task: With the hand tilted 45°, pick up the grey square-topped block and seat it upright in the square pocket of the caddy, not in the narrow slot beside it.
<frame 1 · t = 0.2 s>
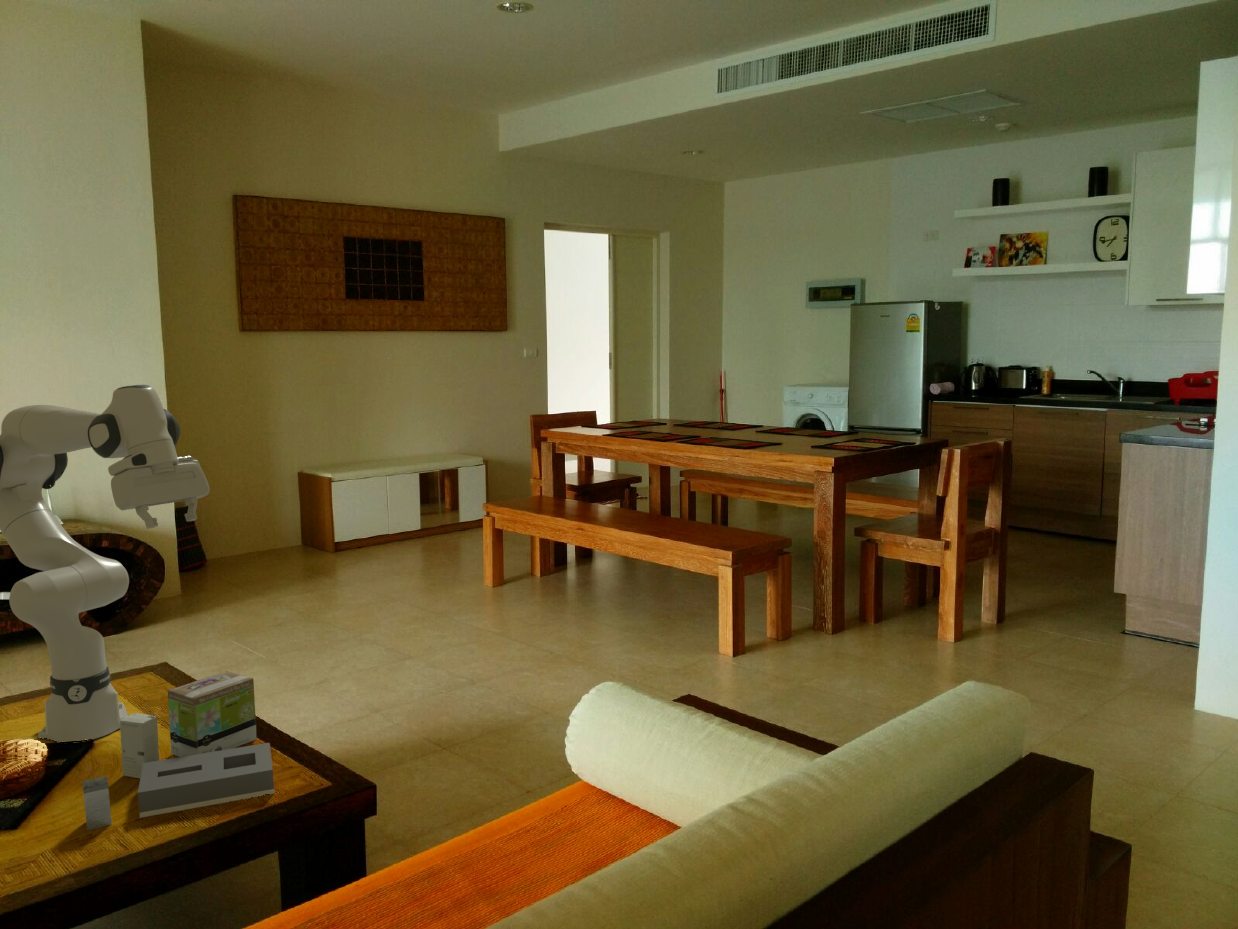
hand: (172, 524, 201), 52 cm above the table, tool tilted 20°, fingers open, 8 cm apart
caddy: (209, 790, 196), on the table
tea box: (215, 748, 217), on the table
skincare box: (142, 774, 204), on the table
grey square-topped block: (98, 823, 184), on the table
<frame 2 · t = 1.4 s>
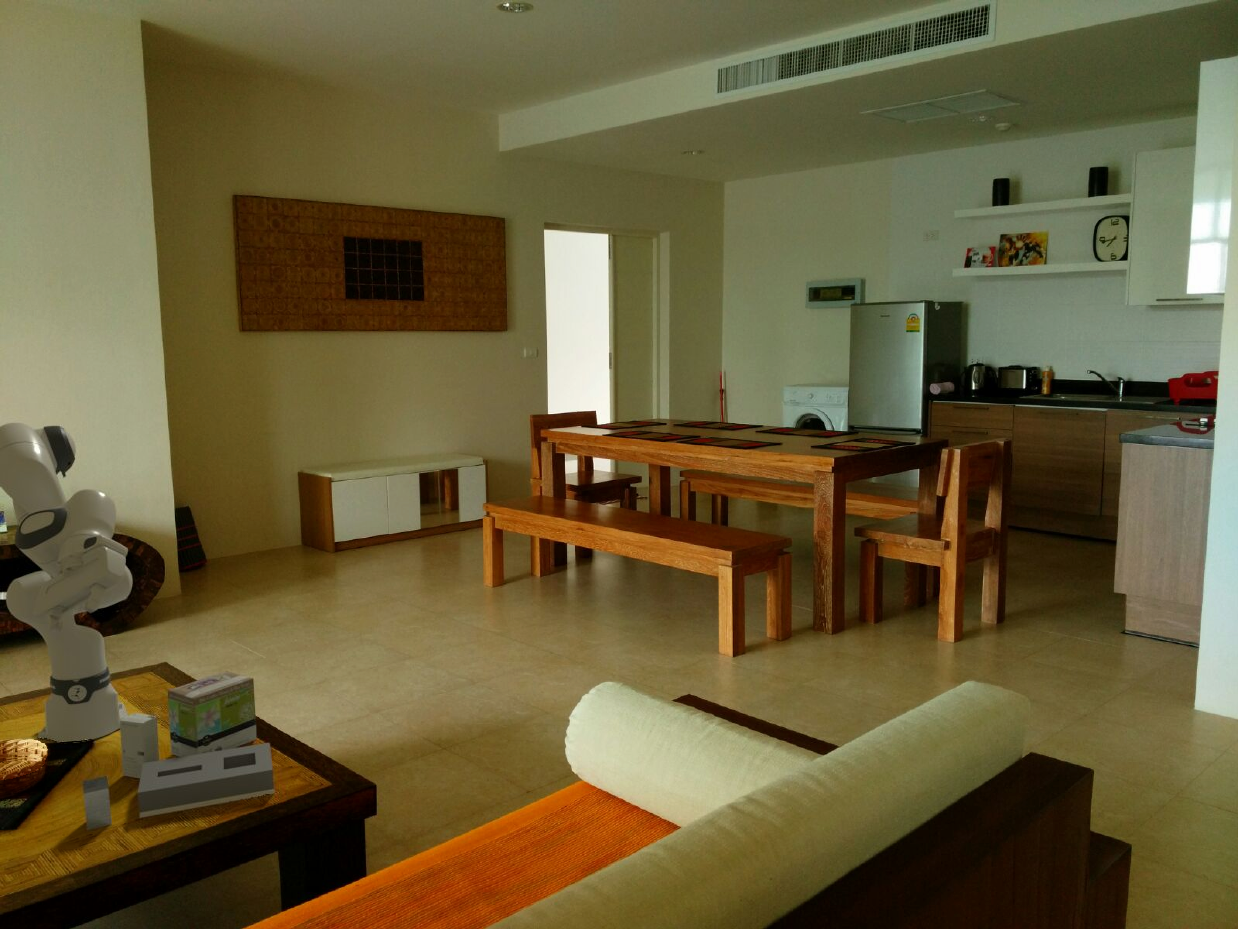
hand: (72, 620, 183), 38 cm above the table, tool tilted 50°, fingers open, 8 cm apart
nothing on the table moved.
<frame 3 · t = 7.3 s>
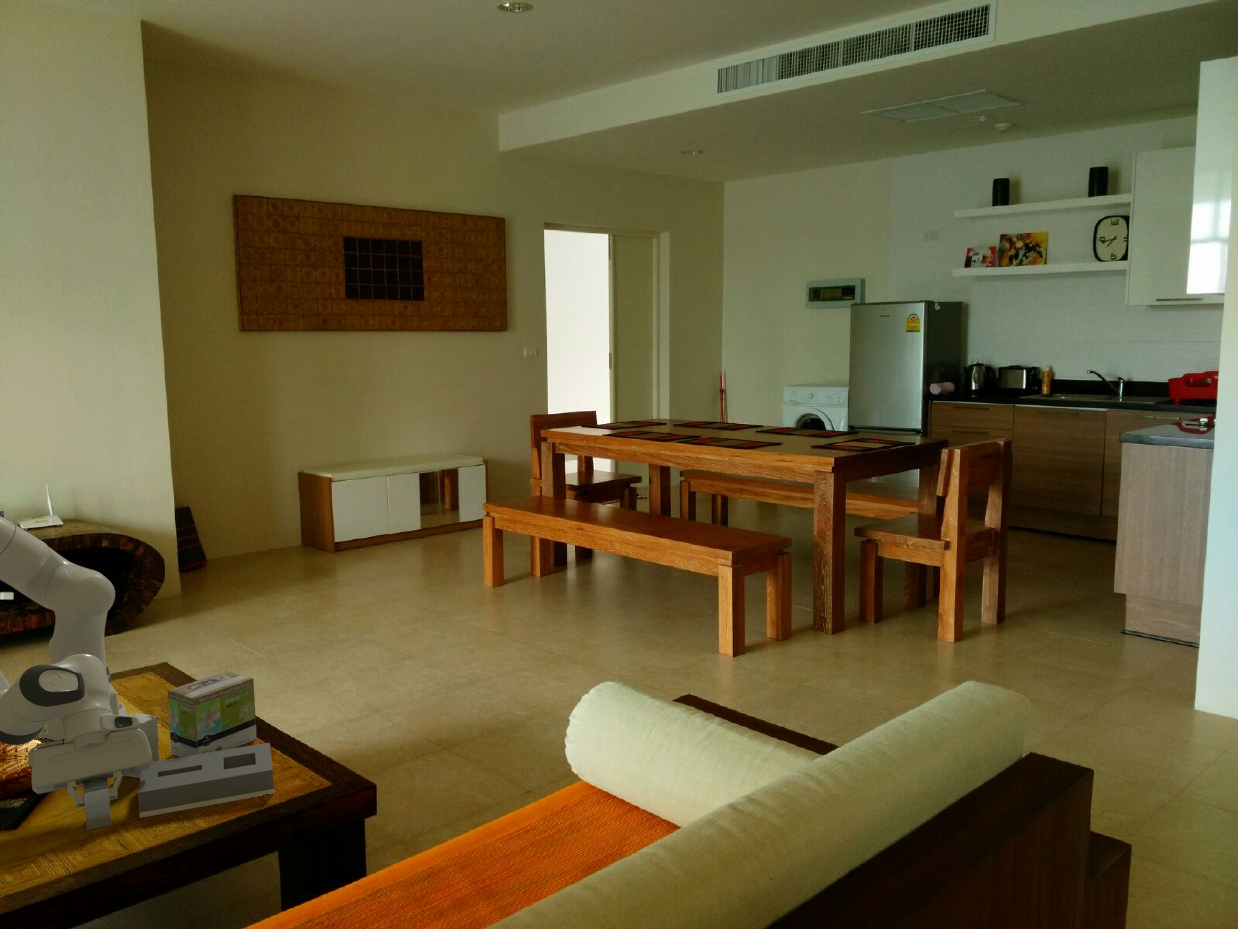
hand: (97, 802, 183), 4 cm above the table, tool tilted 45°, fingers closed on grey square-topped block, 4 cm apart
grey square-topped block: (98, 823, 184), on the table, touching gripper
everything else where it was.
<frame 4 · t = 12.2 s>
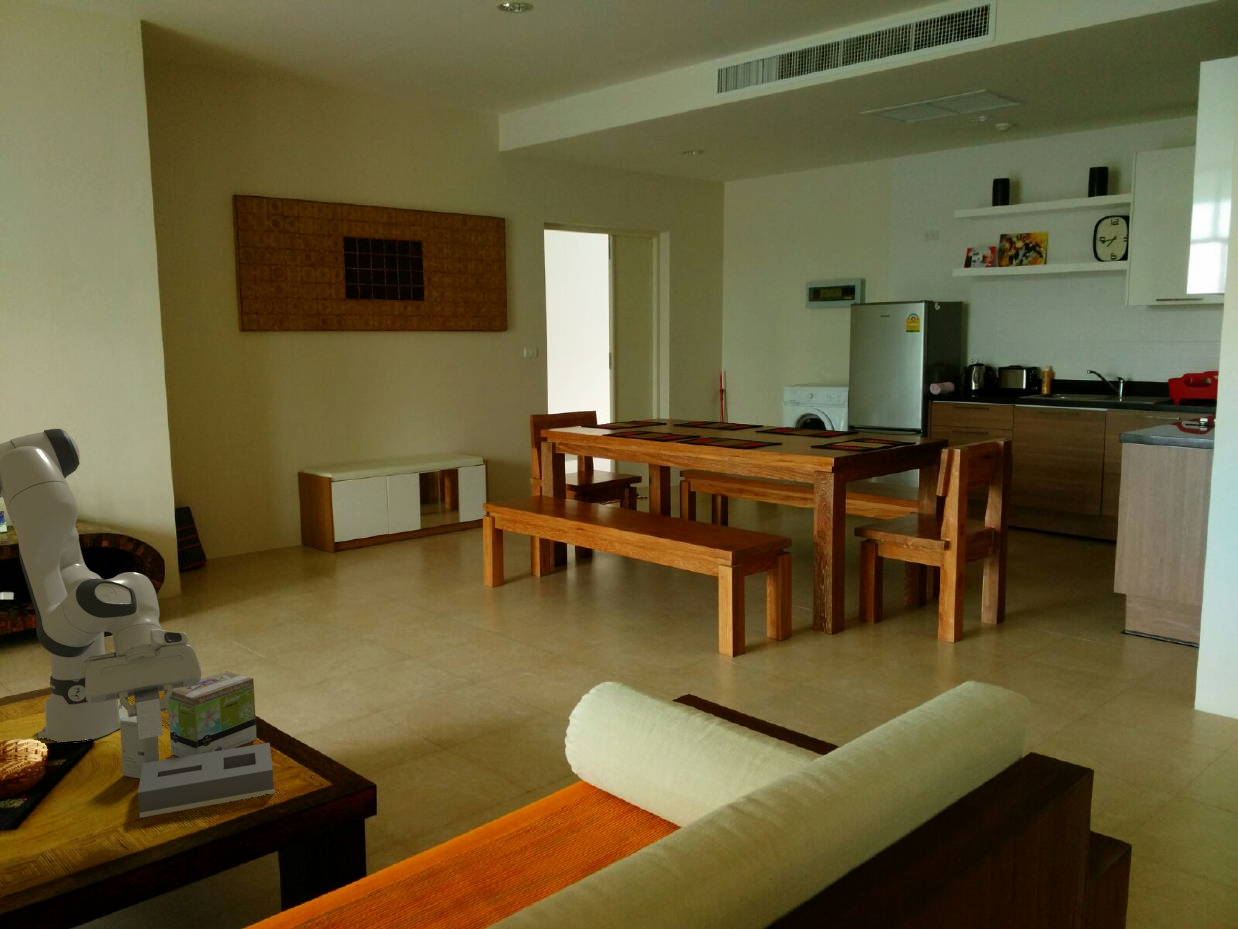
hand: (148, 712, 186), 19 cm above the table, tool tilted 45°, fingers closed on grey square-topped block, 4 cm apart
grey square-topped block: (150, 733, 187), point 15 cm above the table, touching gripper
everything else where it was.
when the fingers open (7 cm above the table, at t = 17.0 s): grey square-topped block drops 2 cm, resting on caddy.
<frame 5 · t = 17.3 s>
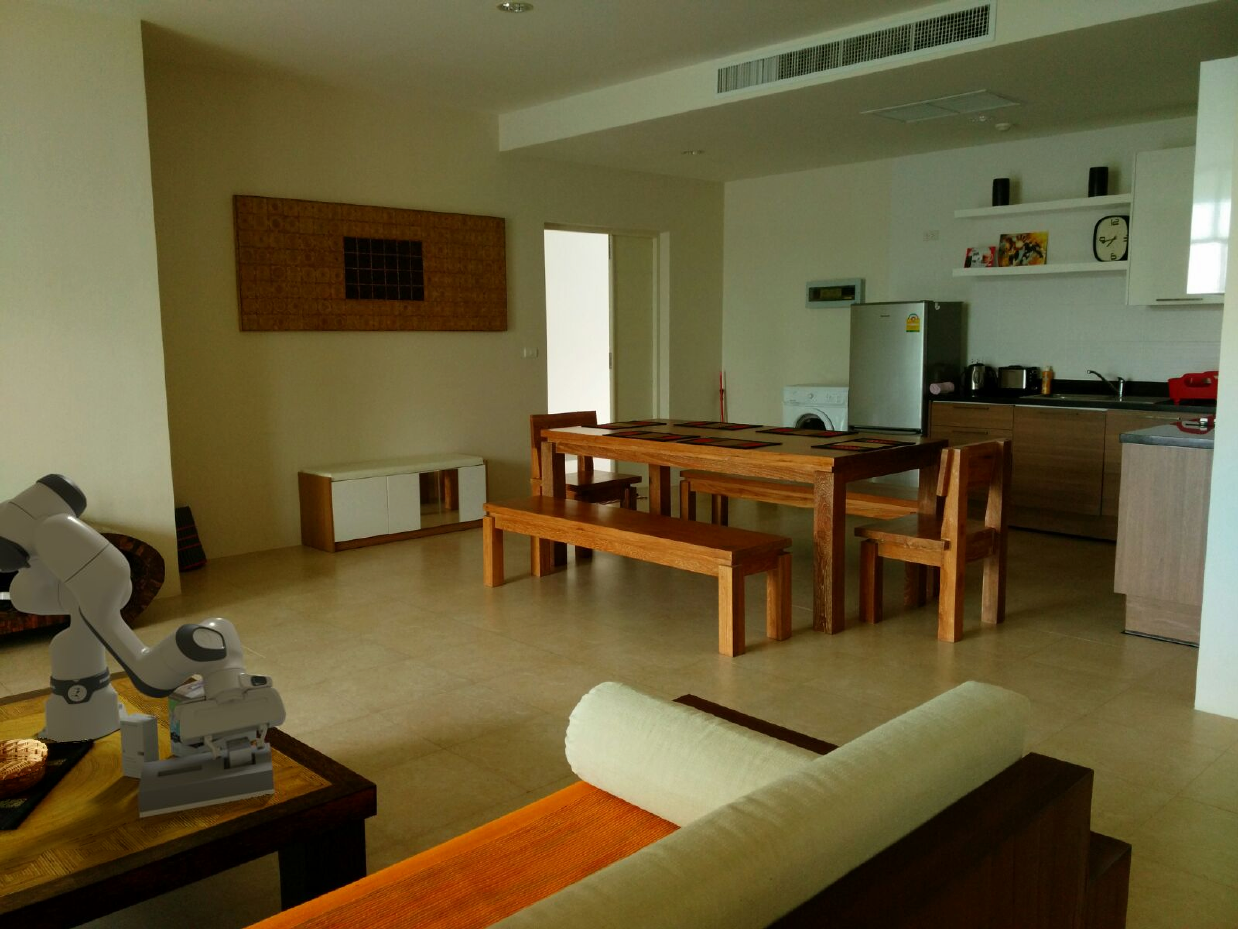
hand: (239, 753, 197), 7 cm above the table, tool tilted 45°, fingers open, 7 cm apart
grey square-topped block: (241, 779, 198), point 1 cm above the table, touching caddy
everything else where it was.
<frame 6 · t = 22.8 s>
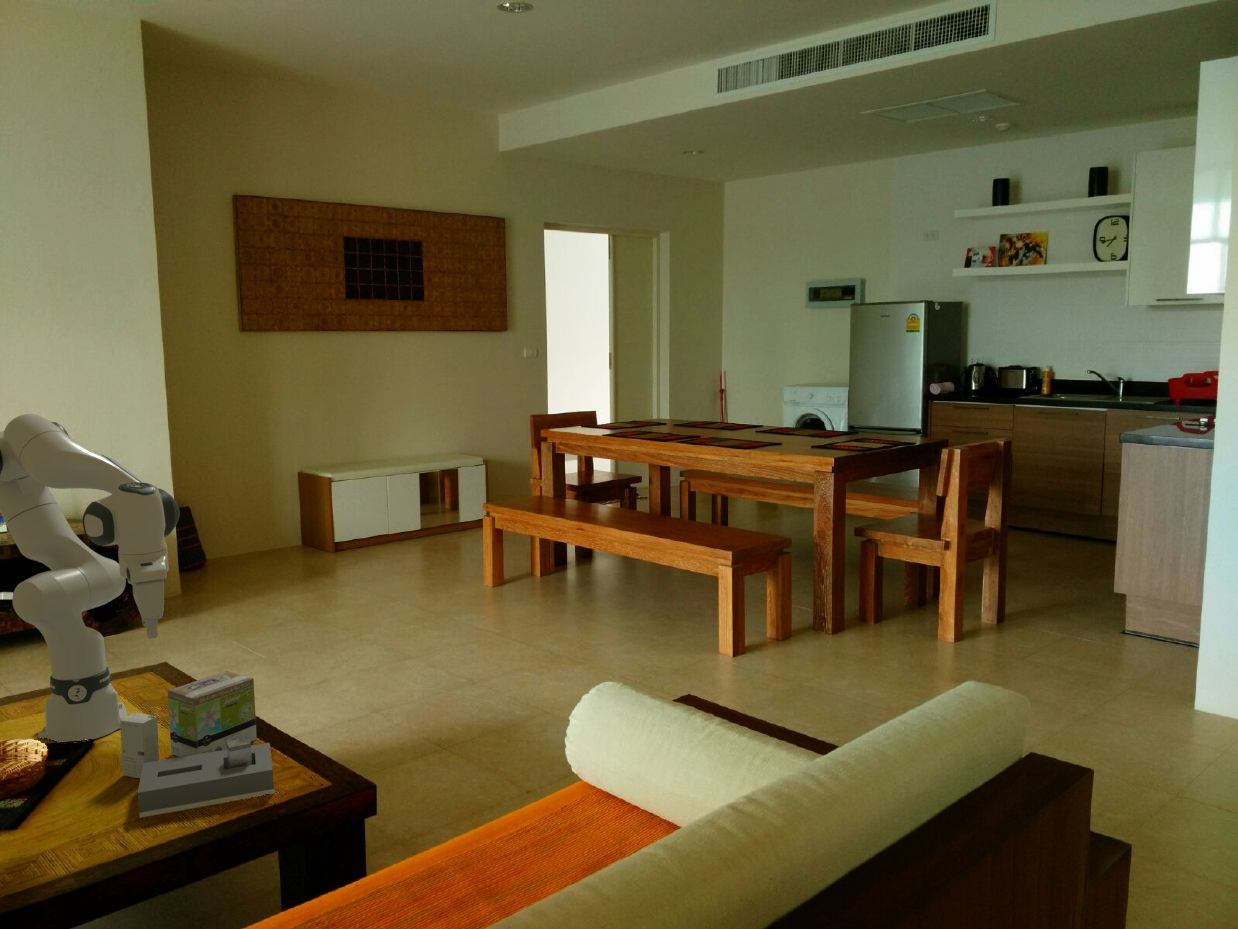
hand: (149, 631, 198), 31 cm above the table, tool pointing down, fingers open, 8 cm apart
nothing on the table moved.
at the end: grey square-topped block 0.0 cm from the target spot on the caddy, point 1.0 cm above the caddy's base; grey square-topped block tilted 0°; the gripper is holding nothing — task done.
